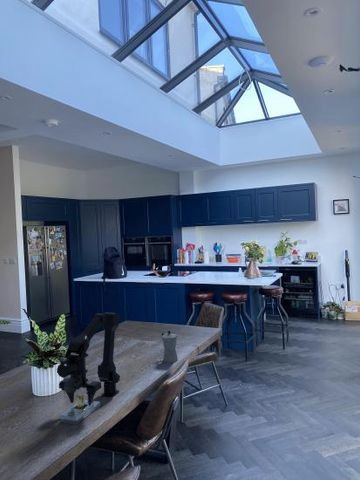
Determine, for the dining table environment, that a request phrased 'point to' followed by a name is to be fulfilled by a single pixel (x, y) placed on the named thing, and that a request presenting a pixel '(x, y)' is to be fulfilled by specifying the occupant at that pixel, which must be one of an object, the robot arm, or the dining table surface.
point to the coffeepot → (169, 347)
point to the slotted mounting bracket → (78, 412)
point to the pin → (80, 401)
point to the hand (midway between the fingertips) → (80, 404)
